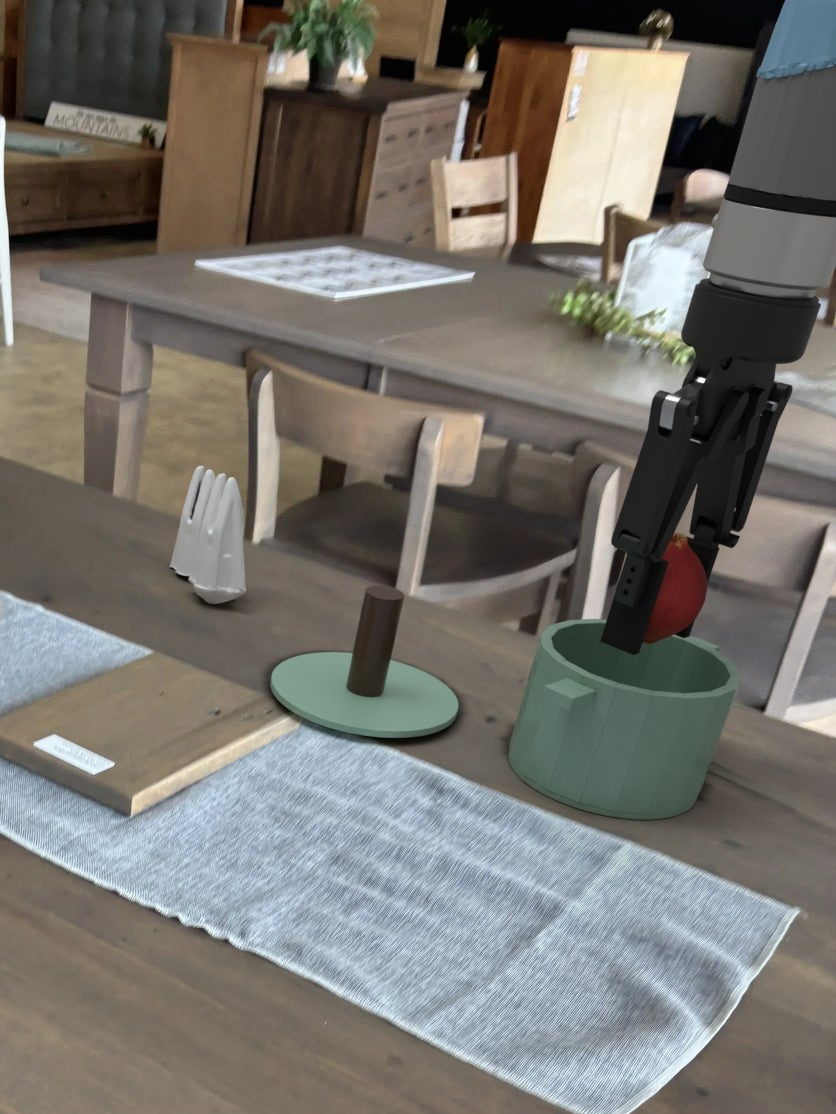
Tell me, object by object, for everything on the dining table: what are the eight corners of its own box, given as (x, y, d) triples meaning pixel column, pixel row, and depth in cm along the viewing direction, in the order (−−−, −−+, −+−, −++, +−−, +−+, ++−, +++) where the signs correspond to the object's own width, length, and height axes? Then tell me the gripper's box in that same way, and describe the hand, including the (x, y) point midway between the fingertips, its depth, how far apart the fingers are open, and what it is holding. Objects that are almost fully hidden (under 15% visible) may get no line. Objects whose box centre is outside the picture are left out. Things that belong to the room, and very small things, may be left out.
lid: (493, 719, 113) (522, 609, 108) (370, 761, 105) (396, 644, 99) (354, 652, 122) (375, 548, 117) (230, 687, 114) (247, 575, 108)
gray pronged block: (244, 613, 127) (263, 490, 121) (200, 613, 126) (217, 488, 120) (209, 566, 137) (225, 449, 131) (167, 566, 136) (181, 448, 130)
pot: (750, 782, 108) (795, 665, 103) (608, 848, 97) (651, 722, 92) (595, 712, 116) (630, 601, 111) (448, 766, 105) (479, 645, 100)
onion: (611, 621, 104) (645, 512, 99) (692, 640, 102) (729, 530, 97) (598, 645, 99) (632, 532, 95) (681, 665, 98) (720, 552, 93)
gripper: (779, 268, 95) (670, 599, 108) (624, 277, 84) (523, 644, 97) (887, 291, 91) (759, 634, 104) (738, 303, 80) (616, 684, 93)
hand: (645, 638), depth 101 cm, fingers closed on onion, 6 cm apart
